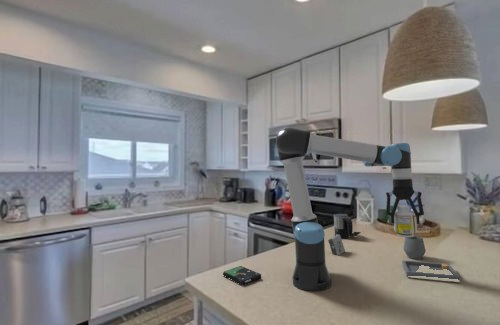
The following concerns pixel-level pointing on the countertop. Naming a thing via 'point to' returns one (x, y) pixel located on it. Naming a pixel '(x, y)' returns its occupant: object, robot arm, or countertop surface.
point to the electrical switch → (336, 245)
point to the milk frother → (343, 226)
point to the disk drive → (242, 275)
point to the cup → (414, 247)
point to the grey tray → (413, 266)
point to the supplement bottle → (405, 222)
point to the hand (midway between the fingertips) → (405, 231)
